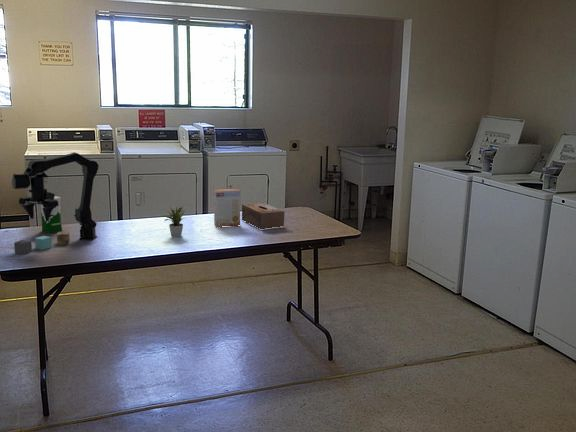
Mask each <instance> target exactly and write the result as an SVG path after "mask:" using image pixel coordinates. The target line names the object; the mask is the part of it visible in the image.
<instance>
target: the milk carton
mask: <svg viewBox="0 0 576 432" xmlns="http://www.w3.org/2000/svg"><path fill="white" fill-rule="evenodd" d="M49 193H52V192H50V191H49ZM49 200H50V199H49ZM54 200H57V201H58V206H56V208H54V209H53V210H52V212H51V215H50V218H49V221H46V219H45V215H44V212H43V208H44V206H43V205H42V204H40V215H41V232H44V233H49V234H53V233H58V232H63V227H62V218H61V217H62V216H61V202H62V201H61V200H62V197H60V196H56V195H55V196H54ZM45 201H46V200H45Z"/></svg>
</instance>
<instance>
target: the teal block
mask: <svg viewBox="0 0 576 432" xmlns="http://www.w3.org/2000/svg"><path fill="white" fill-rule="evenodd" d="M34 244H35V245H34V246H35V249H38V250H41V251H43V250H47V249H50V248H52V247H53V245H52V237H51V236H48V235H47V236H46V235H41V236H37V237H34Z"/></svg>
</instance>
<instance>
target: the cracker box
mask: <svg viewBox="0 0 576 432" xmlns="http://www.w3.org/2000/svg"><path fill="white" fill-rule="evenodd" d="M213 204H214V205H213V210H214V211H213V214H214V215H213V216H214V217H213V222H214V223H213V225H215V226H216V227H215V226H214V227H215V228H217V227H220V228H223V227H222V226H235V227H239V226H238V225H240V226H241V190H240V189H239V188H225V189H224V188H223V189H214V190H213Z"/></svg>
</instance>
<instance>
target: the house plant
mask: <svg viewBox="0 0 576 432" xmlns="http://www.w3.org/2000/svg"><path fill="white" fill-rule="evenodd" d="M167 207H168V208H169V209H170V210H169V211H168V210H165V212H167V213H168V214H169V215H163V214H162V215H160V216H161V217H163V218H165V219H164V222H167V221H170V223H169V224H168V225H169V232H170V236H172V237H171V238H174V237H178V238H181V237H182V233H183V227H184V224H183V223H181V221H182V220H184V219H185V217H184V218H182V217H183V215H184V214H185V213H186V211H185V210H186V209H184V205H182V206H180V207H178V206H176V209H173V208H172V207H171V206H167ZM161 210H163V208H162V209H161ZM170 211H171V212H170ZM180 236H181V237H180Z"/></svg>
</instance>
